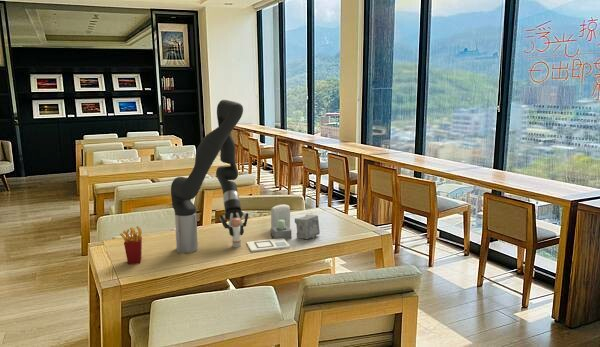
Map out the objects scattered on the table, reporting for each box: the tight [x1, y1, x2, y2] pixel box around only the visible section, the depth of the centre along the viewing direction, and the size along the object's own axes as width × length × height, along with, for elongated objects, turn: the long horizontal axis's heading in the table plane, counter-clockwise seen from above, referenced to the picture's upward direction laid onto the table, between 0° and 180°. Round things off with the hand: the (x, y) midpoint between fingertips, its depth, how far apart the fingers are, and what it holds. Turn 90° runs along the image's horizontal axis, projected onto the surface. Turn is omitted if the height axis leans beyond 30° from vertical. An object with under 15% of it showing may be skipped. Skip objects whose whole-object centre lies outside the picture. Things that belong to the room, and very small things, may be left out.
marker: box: [231, 218, 242, 248], centre depth 215 cm, size 4×4×13 cm
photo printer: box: [270, 204, 291, 228], centre depth 240 cm, size 10×4×12 cm, turn 123°
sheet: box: [246, 238, 291, 253], centre depth 217 cm, size 18×11×1 cm, turn 107°
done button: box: [278, 220, 285, 230], centre depth 228 cm, size 3×3×6 cm
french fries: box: [119, 225, 143, 265], centre depth 198 cm, size 9×8×15 cm
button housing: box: [270, 225, 292, 240], centre depth 229 cm, size 8×8×4 cm
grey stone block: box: [294, 214, 321, 240], centre depth 228 cm, size 10×8×10 cm
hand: (237, 234), depth 214 cm, fingers closed on marker, 3 cm apart
